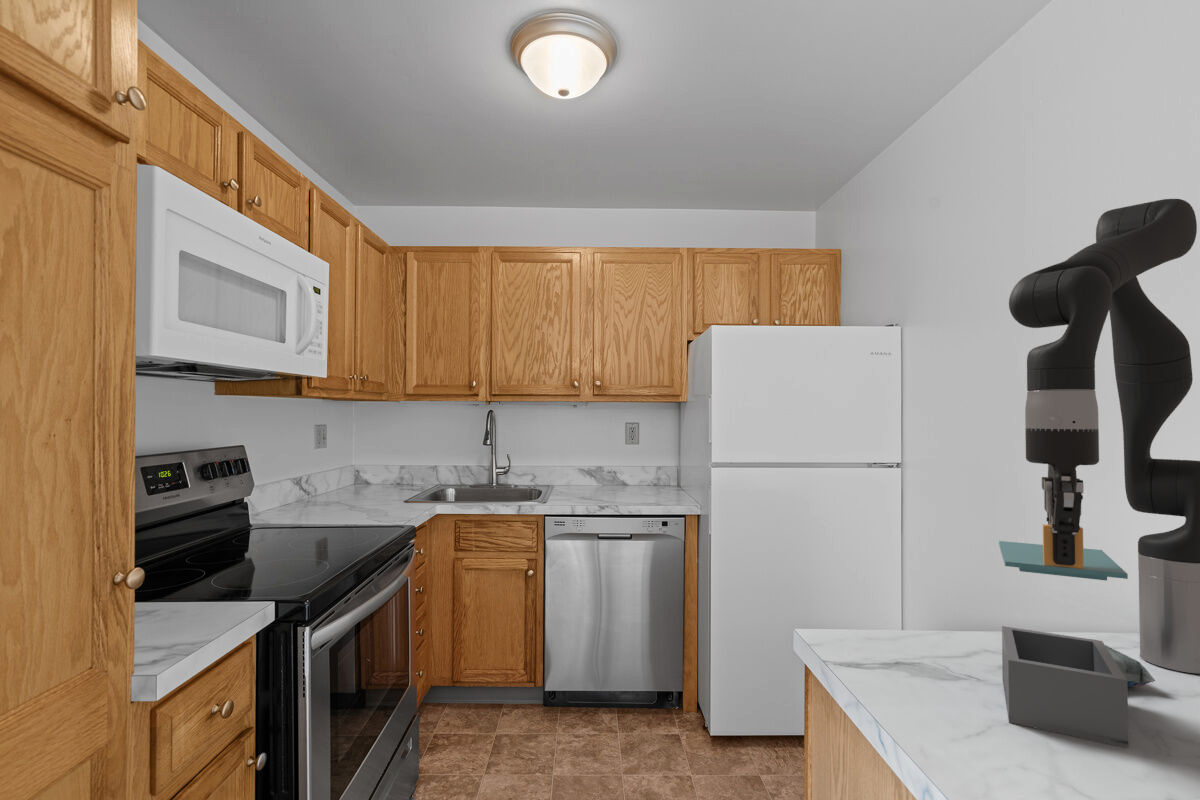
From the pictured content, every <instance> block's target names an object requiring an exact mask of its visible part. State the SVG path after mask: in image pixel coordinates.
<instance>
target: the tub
mask: <svg viewBox="0 0 1200 800" xmlns="http://www.w3.org/2000/svg"><path fill="white" fill-rule="evenodd" d="M1001 644H1002V645H1001V649H1002V650H1001V651H1002V653H1001V655H1002V656H1001V657H1002V658H1001V661H1002V664H1001V665H1002V668H1001V669H1002V670H1001V671H1002V672H1001V673H1002V684H1003V685H1004V686H1003V685H1002V686H1003V691H1004V692H1005V693H1004V698H1005V706H1006V711H1007V712H1006V714H1007V718H1008V723H1010V724H1013V723H1014V724H1015V725H1018V724H1019V726H1023V727H1028V726H1029V728H1032V727H1036V728H1035V729H1037V728H1039V730H1042V729H1044V730H1043V731H1046V730H1048V731H1047V732H1051V731H1053V732H1052V733H1056V732H1058V733H1057V734H1060V733H1061V735H1065V734H1066V735H1065V736H1071V737H1076V738H1080V739H1084V740H1089V741H1094V742H1098V743H1104V744H1108V745H1113V746H1117V747H1122V748H1125V749H1129V708H1128V705H1129V703H1128V702H1129V698H1128V697H1129V696H1128V694H1129V693H1128V691H1129V690H1128V687H1127V679H1126V677H1125V676H1124V674H1123V673H1122V671H1121V670H1120V668H1119V666H1118V665H1117V663H1116V662H1115V660H1114V659H1113V657H1112V656H1111V654H1110V652H1109V651H1108V649H1107V648H1106V646H1107V645H1106V646H1105V643H1104V641H1103V640H1100V639H1099V640H1097V639H1091V638H1086V637H1085V638H1084V637H1078V636H1071V635H1065V634H1059V633H1057V634H1056V633H1052V632H1051V633H1050V632H1045V631H1036V630H1031V629H1025V628H1017V627H1010V626H1004V625H1002V626H1001Z"/></svg>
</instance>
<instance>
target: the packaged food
mask: <svg viewBox="0 0 1200 800" xmlns="http://www.w3.org/2000/svg"><path fill="white" fill-rule="evenodd" d="M1104 645H1105V644H1104ZM1105 646H1106V648H1107V649H1108V651H1109V652H1110V654H1111V656H1112V657H1113V659H1114V660H1115V662H1116V663H1117V665H1118V666H1119V668H1120V670H1121V671H1122V673H1123V674H1124V676H1125V677H1126V679H1127V688H1130V687H1134V688H1135V687H1142V686H1146V685H1147V684H1150V683H1154V682H1156V680H1155V678H1154V677H1153V676H1152V675H1151V673H1150V672H1149V671H1148V670H1147V669H1146V667H1145V666H1144V665H1142V663H1141V662H1140V661H1138V660H1136V659H1134V658H1132V657H1130V656H1128V655H1126V654H1124V653H1123V652H1120V651H1118V650H1115V649H1114V648H1112V647H1110V646H1108V645H1105Z"/></svg>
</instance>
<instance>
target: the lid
mask: <svg viewBox="0 0 1200 800" xmlns="http://www.w3.org/2000/svg"><path fill="white" fill-rule="evenodd" d="M1050 527H1052V525H1048V524H1042V544H1038V543H1028V542H1027V543H1025V542H1015V541H1007V540H1006V541H1004V540H998V545H999V549H1000V553H1001V556H1002V559H1003V563H1004V567H1011V568H1018V570H1019V572H1023V573H1024V572H1025V573H1033V574H1042V575H1050V576H1058V577H1060V576H1061V577H1068V578H1069V577H1071V578H1078V579H1079V578H1081V579H1089V580H1098V581H1099V580H1100V581H1108V578H1116V579H1123V580H1125V579H1126V580H1128V578H1129V577H1128V576H1129V575H1128V572H1126V571H1125V570H1124V569H1123V568H1122V567H1121V566H1120V565H1119V564H1118V563H1117V562H1115V560H1113V559H1112V558H1111V557H1110V556H1109V555H1108V554H1106V552H1105V551H1103V550H1102V549H1097V548H1096V549H1095V548H1094V549H1093V548H1085V547H1084V529H1083V527H1082V526H1080V530H1079V532H1078V533H1077V534H1076V536H1075V564H1074V565H1073V566H1068V565H1058V564H1056V563H1054V561H1053V534H1052V531H1051V530H1050Z"/></svg>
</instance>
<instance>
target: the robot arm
mask: <svg viewBox="0 0 1200 800" xmlns="http://www.w3.org/2000/svg"><path fill="white" fill-rule="evenodd" d="M1197 222H1198V221H1197V217H1196V212H1195V210H1194V208H1193V206H1192V205H1191V204H1190V203H1189V202H1187V201H1186V200H1184V199H1181V198H1163V199H1158V200H1157V199H1156V200H1154V201H1148V202H1143V203H1139V204H1138V203H1137V204H1133V205H1128V206H1124V207H1123V206H1122V207H1119V208H1114V209H1110V210H1107V211H1105V212H1103V213H1102V214H1101V215H1100V216H1099V219H1098V220H1097V224H1096V229H1095V243H1092V244H1089V245H1088V246H1086V247H1084V248H1082V249H1081V250H1079V251H1076V253H1074V254H1073V255H1071V256H1070V257H1068V258H1067V259H1066V260H1064V261H1062V262H1058V263H1056V264H1053V265H1050V266H1047V267H1044V268H1042V269H1039V270H1036V271H1034V272H1032V273H1029V274H1027V275H1025V276H1024V277H1021V279H1020V280H1019V281H1018V282H1017V283H1016V284H1015V285H1014V287H1013V288H1012V290H1011V293H1010V294H1009V298H1008V308H1009V311H1010V314H1011V316H1012V318H1013V319H1014V320H1015V322H1017V323H1018V324H1020V325H1022V326H1024V327H1025V328H1031V329H1042V328H1052V327H1058V326H1059V327H1060V326H1067V327H1066V329H1065V331H1064V333H1063V334H1062V336H1061V337H1060V338H1059V339H1057V340H1055V341H1053V342H1052V341H1051V342H1049V343H1045V344H1041V345H1038V346H1036V347H1033V348H1032V349H1030V350H1029V352H1028V353H1027V357H1026V389H1027V390H1026V391H1027V393H1026V400H1025V401H1026V402H1025V407H1024V411H1025V412H1024V414H1025V415H1024V417H1025V418H1024V422H1025V424H1024V425H1025V426H1024V427H1025V459H1026V461H1027V462H1028V463H1031V464H1033V463H1034V464H1042V465H1048V466H1047V476H1042V477H1041V489H1042V490H1043V503H1044V504H1043V506H1044V511H1045V512H1046V516H1047V517H1046V522H1047V525H1052V527H1050V530H1051V531H1052V534H1053V561H1054V563H1056V564H1058V565H1068V566H1073V565H1074V564H1075V536H1076V534H1077V533H1078V532H1079V530H1080V527H1081V526H1080V522H1081V521H1080V520H1081V516H1082V500H1083V499H1084V495H1083V494H1084V490H1085V489H1084V481H1083V479H1080V478H1077V467H1078V466H1095V465H1097V464H1099V462H1100V444H1099V443H1100V442H1099V441H1100V438H1099V437H1100V435H1099V433H1100V432H1099V431H1100V430H1099V404H1098V400H1097V395H1096V394H1097V393H1096V370H1095V369H1096V364H1095V363H1096V362H1095V361H1096V356H1097V350H1098V345H1099V343H1100V339H1101V334H1102V331H1103V329H1104V326H1105V323H1106V319H1107V317H1108V314H1109V319H1110V320H1109V321H1110V327H1111V328H1110V329H1111V339H1112V340H1111V341H1112V350H1113V364H1114V373H1115V383H1116V387H1117V394H1118V399H1119V400H1118V401H1119V406H1120V407H1119V408H1120V414H1121V415H1120V416H1121V423H1122V424H1121V425H1122V432H1123V433H1122V434H1123V435H1122V437H1123V462H1124V463H1123V465H1124V469H1123V471H1124V472H1123V473H1124V485H1125V486H1124V487H1125V488H1124V489H1125V494H1126V499H1127V501H1128V502H1127V503H1128V504H1129V505H1130V507H1131V508H1132V509H1133V510H1134V511H1136V512H1138V513H1146V514H1151V515H1152V514H1154V515H1164V516H1175V517H1185V521H1184V523H1183V525H1181V526H1180V527H1177V528H1175V529H1171V530H1169V531H1165V532H1158V533H1152V534H1145V535H1142V536H1140V537H1139V538H1138V541H1137V553H1138V554H1137V557H1138V558H1137V559H1138V560H1137V561H1138V569H1137V570H1138V602H1139V603H1138V610H1139V613H1138V614H1139V615H1138V617H1139V619H1138V620H1139V656H1140V658H1141V659H1143V660H1144V661H1146V662H1148V663H1150V664H1153V665H1155V666H1159V667H1162V668H1165V669H1169V670H1173V671H1176V672H1177V671H1178V672H1183V673H1190V674H1198V675H1200V460H1191V459H1190V460H1189V459H1188V460H1187V459H1170V458H1169V459H1168V458H1165V459H1164V458H1152V457H1151V447H1152V444H1153V441H1154V440H1155V437H1156V436H1157V435H1158V433H1159V431H1160V430H1161V429H1162V428H1161V427H1163V425H1164V423H1165V422H1166V421H1167V420H1168V418H1169V417H1170V416H1171V415H1172V414H1173V413H1174V411H1175V410H1176V409H1177V408H1178V406H1180V404H1181V403H1182V401H1184V399H1185V397H1186V396H1187V394H1188V393H1189V392H1190V390H1191V387H1192V384H1193V380H1194V379H1193V378H1194V377H1193V368H1192V356H1191V349H1190V344H1189V340H1188V338H1187V337H1186V336H1185V334H1184V333H1183V332H1182V331H1181V329H1180V328H1179V327H1177V325H1176V324H1175V323H1174V322H1173V321H1172V320H1171V319H1169V318H1168V317H1167V316H1166V314H1164V313H1163V312H1162V311H1161V310H1160V309H1159V308H1158V307H1156V305H1155V304H1154V303H1153V302H1152V301H1151V300H1150V299H1149V297H1148V295H1146V293H1145V292H1144V290H1143V289H1142V286H1141V285H1140V281H1139V280H1138V278H1137V277H1138V276H1140V275H1141V274H1144V273H1146V272H1147V271H1150V270H1152V269H1154V268H1155V267H1158V266H1161V265H1162V264H1165V263H1167V262H1169V261H1170V262H1171V261H1173V260H1177V259H1180V258H1181V257H1183V256H1185V255H1186V254H1188V252H1190V250H1191V249H1192V247H1193V246H1194V244H1195V240H1196V238H1197V231H1198V225H1197Z"/></svg>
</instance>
